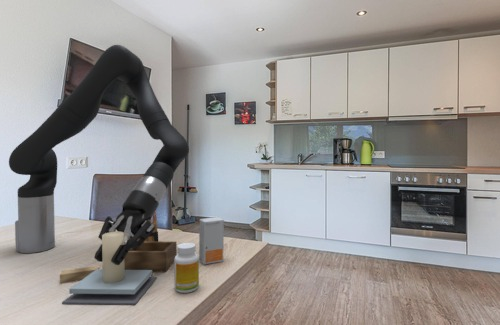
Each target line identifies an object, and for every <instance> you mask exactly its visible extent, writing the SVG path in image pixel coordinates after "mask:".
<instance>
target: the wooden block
mask: <svg viewBox="0 0 500 325" xmlns="http://www.w3.org/2000/svg"><path fill="white" fill-rule="evenodd" d="M96 269H100V265H94V266H88V267H87V266H86V267H79V268H72V269H67V270H66V269H65V270H61V271H60V273H59V284H60V285H61V284H66V283H73V282H80V281H81V280H82V279H84V278H85V277H87V276H88V275H89V274H91V273H92V272H94V271H95V270H96Z"/></svg>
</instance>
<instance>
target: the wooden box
mask: <svg viewBox="0 0 500 325" xmlns="http://www.w3.org/2000/svg"><path fill="white" fill-rule="evenodd" d="M177 254H178V251H177V241H162V240H161V241H159V240H158V241H144V242H143V244H142V245H141V246H140V247H139V248H136V247H134V248H132V249H131V250H129V251H128V253H127V255H126V256H125V258H124V262H125V270H152V272H154V273H155V272H161V273H162V272H163V273H164V272H168V270H169V269H170V268H171V266H172V265H173V264H174V259H175V256H176V255H177Z"/></svg>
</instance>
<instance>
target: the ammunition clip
mask: <svg viewBox="0 0 500 325" xmlns="http://www.w3.org/2000/svg"><path fill="white" fill-rule="evenodd" d="M157 218H158V217H157V212H156V211H155V213H154V214H153V216H152V218H151V219H150V220H148V221H150V222H151V223H152V224H153V225H154V226H155V229H154V231H153V232H152V233H151V234H150V235H149V236H148V238H147V239H146V240H145V241H159V230H158V221H157ZM140 238H141V236H140V237H139V238H138V240H139V239H140ZM138 240H137V241H138Z"/></svg>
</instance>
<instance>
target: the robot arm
mask: <svg viewBox="0 0 500 325" xmlns="http://www.w3.org/2000/svg"><path fill="white" fill-rule="evenodd" d="M146 71H147V70H146V69H145V66H144V63H143V61H142V60H141V58H140V57H138V56H137V55H136V54H135V53H133V52H132V51H131V50H130V49H128V48H127V47H125V46H124V45H121V44H114V45H111V46H109V47H108V48H106V49H105V50H104V51H103V52H102V54H100V57H98V59H97V61H96V62H95V63H94V65H93V66H92V68H91V69H90V70H89V71H88V72H87V74H86V76H85V77H84V78H83V79H82V80H81V81H80V82H79V84H78V85H77V86H76V87H75V88H74V89H73V91H72V92H70V94H69V95H68V96H67V97H66V98H65V99H64V100H63V101H62V102H61V103H60V104H59V105H58V106H57V108H55V110H54V111H53V112H52V113H51V114H50V115H49V116H48V117H47V119H45V120H44V121H43V122H42V124H41V125H39V127H38V128H37V129H36V130H34V132H32V133H31V134H30V135H29V136H28V137H27V138H26V139H24V140H22V142H20V143H19V144H18V145H17V146H16V147H15V148H14V149H13V151H12V152H10V155H9V159H8V167H9V168H10V170H11V171H12V172H13V173H15V174H17V175H23V176H24V175H25V176H29V179H28V181H27V182H26V183H24V184H22V185H21V186H20V187H18V188H17V216H18V217H17V219H18V220H15V222H14V232H15V234H14V236H15V237H14V238H15V252H18V253H21V254H33V253H39V252H44V251H49V250H50V249H53V248H54V247H55V246H56V238H55V236H56V235H55V234H56V231H55V229H56V228H55V226H56V224H55V195H54V194H55V188H56V186H57V181H58V180H57V179H58V158H57V154H56V153H55V151H54V149H53V148H55V147H56V146H57V145H59V144H61V143H63V142H65V141H67V140H69V139H71V138H73V137H75V136H76V135H78V134H80V133H81V132H83V131H84V130H85V129H86V128H87V127H88V126H89V125H90V124H91V123H92V122H93V120H94V119H96V117H97V116H98V113H99V110H100V107H101V102H102V98H103V96H104V93H105V91H106V90H107V89H108V88H109V87H110V86H111V85H112V84H113V82H115V81H116V80H119V81H121V82H123V83H124V84H126V86H127V87H128V89H129V90H130V91H131V93H132V94H133V96H134V98H135V101H136V106H137V112H138V116H139V118H140V121H141V122H142V124H143V126H144V127H145V129H146V132H147V133H148V134H149V136H150V137H151V138H152V139H153V140H155V141H156V140H157V141H158V140H160V141H161V143H162V145H163V146H161V148H160V149H159V151H158V153H157V154H156V156H155V158H154V160H153V161H152V163H151V164H150V165H149V167H147V170H146V171H145V173H144V174H143V175H142V177H141V178H140V179H139V181H137V183H136V184H135V185H134V187H133V189H132V190H131V192H129V195H128V196H127V197H126V199H125V200H124V202H123V204H122V205H121V206H122V210H121V212H120V213H119V214H118V215H117V216H116V217H111V216H107V217H106V218H105V219H104V222H103V225H102V227H101V229H100V232H99V234H98V239H99V240H101V241H102V235H103V234H105V233H109V232H124V238H123V241H122V244H123V245H120V246H119V247H118V249H117V251H116V252H115V254H114V256H113V257H112V259H111V262H112V263H114V264H115V265H119V264H120V263H121V262H122V261H123V260H124V258H125V256H126V255H127V253H128V251H129V250H131V249H132V248H134V247H136V248H139V247H140V246H141V245H142V244H143V242H144V241H145V240H146V239H147V238H148V236H149V235H150V234H151V233H152V232H153V231H154V229H155V226H154V225H153V224H152V223H151V222H152V221H151V222H150V221H148V220H150V219H151V220H152V219H153V214H154V213H155V212H156V211H157V209H158V208H159V205H160V204H161V203H162V200H163V199H164V196H165V195H166V194H165V193H166V191H167V189H168V188H169V186H170V184H171V182H172V181H173V179H174V175H175V172H176V170H177V169H178V167H179V166H180V164H181V163H182V162H183V161H184V160H185V159H186V157H188V155H189V152H190V146H189V143H188V142H187V139H186V138H185V137H184V136H183V135H182V134H181V133H180V132H179V131H178V130H177V128H176V127H174V126H173V125H172V123H171V121H170V120H169V118H168V116H167V114H166V112H165V111H164V109H163V107H162V106H161V104H160V102H159V99H158V98H157V96H156V94H155V92H154V90H153V88H152V85H151V83H150V80H149V77H148V74H147V72H146ZM140 236H141V238H140V239H139V240H138V238H139V237H140ZM137 240H138V241H137ZM93 258H94V259H95V260H96V261H98V262H101V263H102V243H101V245H99V247H98V249H97V251H96V252H95V253H94V257H93Z"/></svg>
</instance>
